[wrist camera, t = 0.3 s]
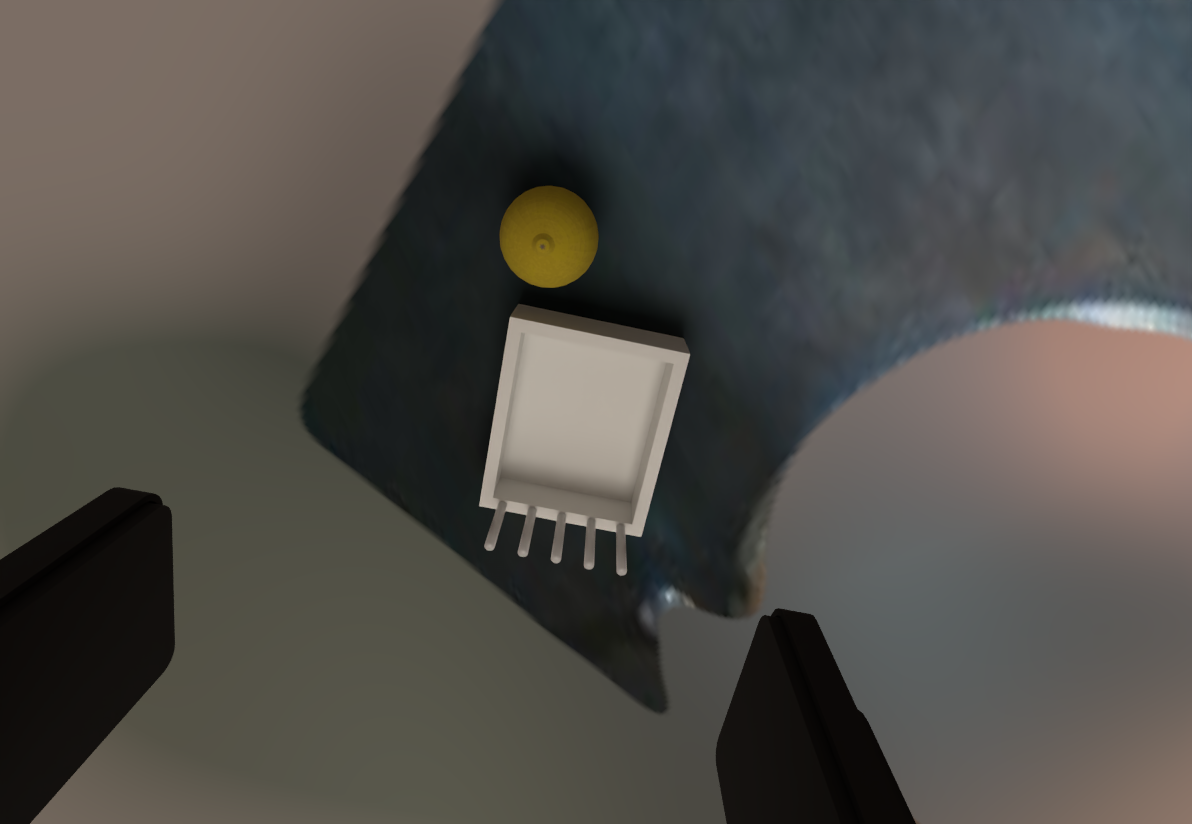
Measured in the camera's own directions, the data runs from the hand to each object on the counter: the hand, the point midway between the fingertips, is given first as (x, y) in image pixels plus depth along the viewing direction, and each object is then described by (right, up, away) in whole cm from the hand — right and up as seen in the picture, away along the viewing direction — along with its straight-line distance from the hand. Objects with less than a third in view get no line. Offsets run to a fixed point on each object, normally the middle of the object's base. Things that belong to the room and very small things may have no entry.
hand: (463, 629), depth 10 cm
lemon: (0, +15, +31) cm, 34 cm away
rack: (+1, +3, +35) cm, 35 cm away
